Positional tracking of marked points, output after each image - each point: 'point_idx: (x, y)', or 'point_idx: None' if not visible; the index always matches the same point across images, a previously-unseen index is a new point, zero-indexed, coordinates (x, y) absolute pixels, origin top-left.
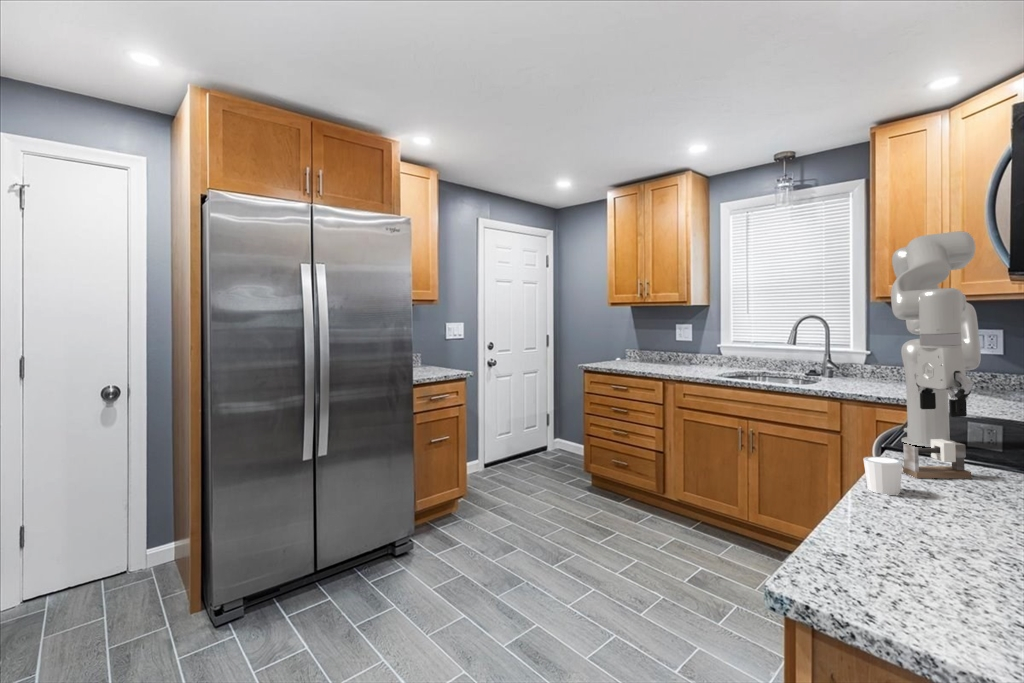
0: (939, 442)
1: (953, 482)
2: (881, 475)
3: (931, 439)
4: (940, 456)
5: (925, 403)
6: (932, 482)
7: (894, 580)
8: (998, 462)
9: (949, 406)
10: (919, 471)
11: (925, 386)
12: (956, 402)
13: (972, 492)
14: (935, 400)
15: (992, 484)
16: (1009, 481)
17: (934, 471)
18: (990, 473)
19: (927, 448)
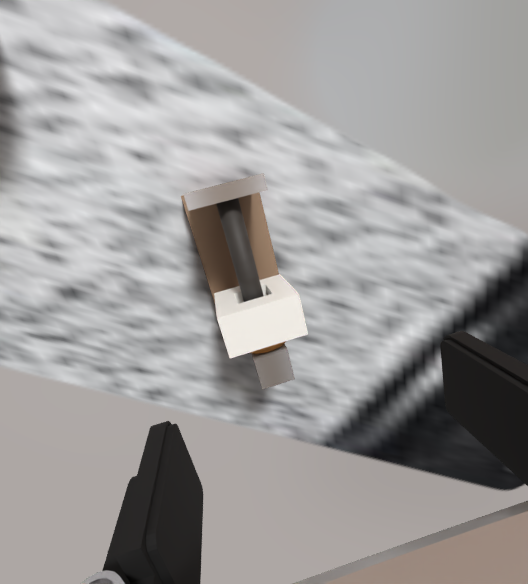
0: (242, 309)
1: (169, 285)
2: None
3: (293, 296)
4: (234, 292)
5: (471, 376)
6: (148, 228)
7: None
8: (408, 440)
9: (150, 479)
10: (196, 209)
11: (508, 519)
12: (110, 561)
13: (63, 298)
14: (492, 452)
15: (178, 369)
16: (222, 411)
17: (209, 255)
18: (296, 396)
19: (239, 259)
